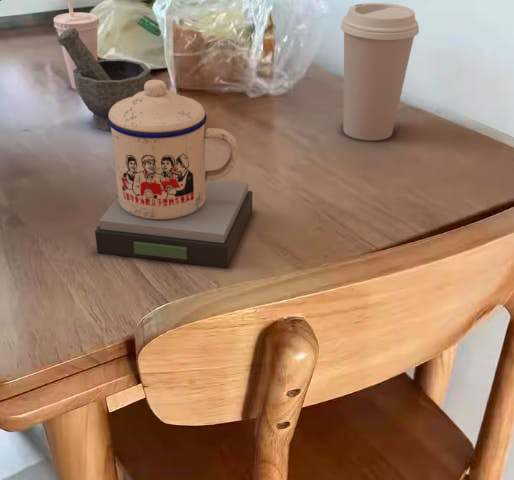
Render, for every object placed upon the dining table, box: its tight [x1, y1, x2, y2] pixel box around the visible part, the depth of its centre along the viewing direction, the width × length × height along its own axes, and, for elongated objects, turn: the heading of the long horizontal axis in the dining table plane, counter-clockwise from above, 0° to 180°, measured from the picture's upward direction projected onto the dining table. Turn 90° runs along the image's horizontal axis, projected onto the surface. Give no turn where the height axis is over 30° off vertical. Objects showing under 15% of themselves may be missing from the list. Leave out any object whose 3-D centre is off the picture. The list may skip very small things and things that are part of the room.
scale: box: [94, 179, 253, 269], centre depth 74 cm, size 13×12×3 cm
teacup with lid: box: [107, 79, 239, 220], centre depth 69 cm, size 12×9×12 cm
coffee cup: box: [340, 2, 420, 142], centre depth 93 cm, size 10×10×15 cm
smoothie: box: [53, 0, 101, 91], centre depth 105 cm, size 6×6×14 cm
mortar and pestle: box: [57, 28, 152, 132], centre depth 95 cm, size 11×9×12 cm
